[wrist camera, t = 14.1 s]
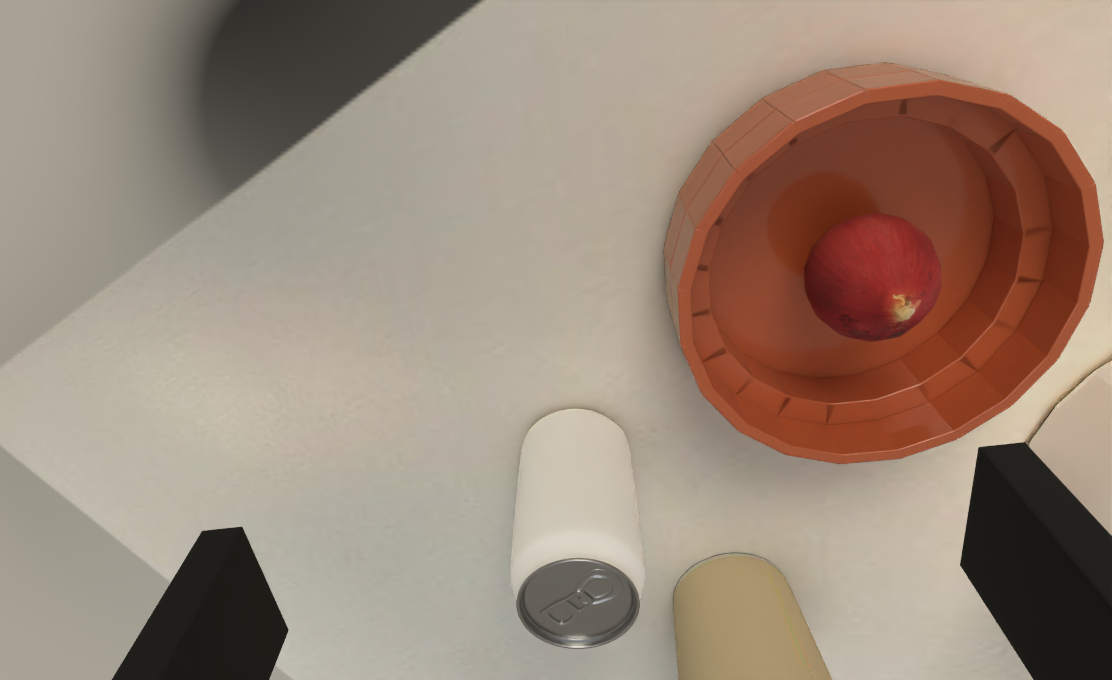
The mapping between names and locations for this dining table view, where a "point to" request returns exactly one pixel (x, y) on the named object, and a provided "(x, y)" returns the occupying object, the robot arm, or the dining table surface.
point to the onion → (873, 277)
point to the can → (576, 532)
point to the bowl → (895, 189)
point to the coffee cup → (742, 624)
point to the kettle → (1082, 443)
